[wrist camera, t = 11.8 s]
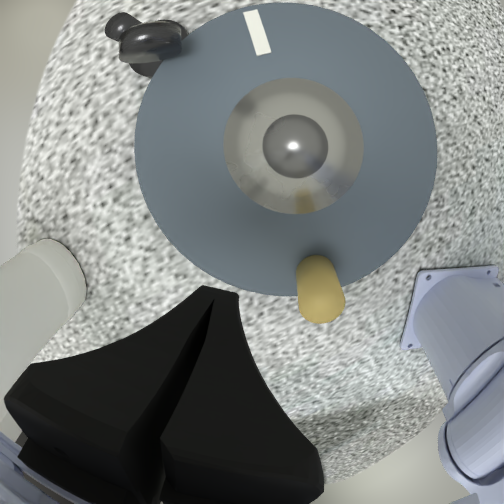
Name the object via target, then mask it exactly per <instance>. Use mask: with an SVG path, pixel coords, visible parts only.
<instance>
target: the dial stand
mask: <svg viewBox="0 0 504 504" xmlns="http://www.w3.org/2000/svg"><path fill="white" fill-rule="evenodd" d="M105 34H106V36H107V37H109V38H111V39H113V40H116V41H118V42H119V59H120V60H121V61H122V62H125V63H129V64H130V66H131V68H132V69H133V70H134V71H135V72H136V73H138V74H140V75H143V76H146V77H150V78H152V77H153V75H154V74H155V72H156V71H157V69H158V68H159V66H160V65H161V63H162V62H163V60H164V59H168V58H171V57H173V56H176V55H177V54H179V53H180V52H181V51H182V43H181V41H182V40H183V39H185V38H186V37H187V36H188V35H189V34H188V32H187V31H186V30H185V29H184V28H183V27H182V26H181V25H180V24H179V23H177V22H175V21H172V20H158V21H153V22H146V23H142V22H140V21H139V20H137V19H136V18H134V17H132V16H131V15H129V14H128V13H125V12H122V13H118V14H116V15H114V16H113V17H112V18H111V19H110V20H109V21H108V23H107V24H106V27H105Z"/></svg>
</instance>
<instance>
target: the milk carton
mask: <svg viewBox="0 0 504 504" xmlns="http://www.w3.org/2000/svg"><path fill="white" fill-rule="evenodd" d="M12 386H13V385H12ZM12 386H11V387H12ZM10 389H11V388H10ZM10 389H9V390H10ZM9 390H8V391H9ZM7 393H8V392H7ZM7 393H6V394H7ZM6 394H5V395H6ZM4 397H5V396H4ZM4 397H3V398H2V400H1V401H0V431H1V432H2V433H3V434H4V435H6V436H7V437H8V438H10V439H11V440H12V441H14V442H15V441H16V440H17V438H18V437H19V435H20V433H21V432H22V430H21V428H20V427H19V426H18V424H17V423H16V422H15V420H14V419H13V418H12V416H11V415H10V413H9V412H8V410H7V409H6V406H5V403H4Z"/></svg>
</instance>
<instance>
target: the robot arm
mask: <svg viewBox="0 0 504 504" xmlns="http://www.w3.org/2000/svg"><path fill="white" fill-rule="evenodd" d="M487 271H488V272H487ZM498 271H499V268H498V267H497V266H496V265H492V266H480V267H467V268H453V269H437V270H423V271H420V272H419V273H418V274H417V278H416V283H415V287H414V292H413V296H412V301H411V305H410V309H409V313H408V317H407V321H406V325H405V328H404V332H403V335H402V339H401V342H400V348H401V349H402V350H408V349H414V348H421V347H422V348H423V350H424V352H425V354H426V356H427V358H428V359H429V361H430V363H431V365H432V367H433V370H434V372H435V374H436V376H437V378H438V380H439V382H440V384H441V386H442V388H443V391H444V393H445V395H446V397H447V400H448V403H447V405H446V406H445V407H444V408H443V409H442V411H443V413H444V416H445V418H446V422H444V423H443V425H442V426H441V428H440V431H439V435H438V451H439V456H440V460H441V462H442V464H443V466H444V468H445V470H446V471H447V473H448V474H449V475H450V476H451V477H452V478H453V479H454V480H456V481H457V482H459V483H460V484H462V485H463V486H464V487H465V488H466V489H467V491H468V492H469V493H470V494H471V495H469V496H467V497H464V498H462V499H459V500H456V501H454V502H452V503H450V504H504V284H503V283H502V282H501V281H500V280H499V279H498V278H497V275H498ZM428 275H429V277H428V278H426V277H427V276H428ZM409 344H410V345H409ZM4 403H5V406H6V409H7V410H8V412H9V413H10V415H11V416H12V418H13V419H14V420H15V422H16V423H17V424H18V426H19V427H20V428H21V430H22V431H23V432H24V433H25V435H26V436H27V437H28V439H27V441H26V443H25V445H24V446H23V448H22V447H20V446H19V445H17V444H16V443H15V442H14V441H12V440H11V439H10V438H8V437H7V436H6V435H4V434H3V433H2V432H1V431H0V504H60V503H59V502H57V501H56V500H54V499H53V498H51V497H50V496H48V495H47V494H45V493H44V492H43V491H42V490H40V489H39V488H37V487H36V486H35V485H33V484H32V483H30V482H29V481H27V480H26V479H25V478H24V475H23V472H25V473H26V474H28V475H29V476H31V477H32V478H33V479H35V480H36V481H38V482H39V483H41V484H43V485H44V486H46V487H47V488H49V489H50V490H52V491H54V492H55V493H57V494H59V495H60V496H62V497H64V498H66V499H68V500H69V501H71V502H73V503H75V504H160V502H161V501H162V502H163V504H309V503H311V502H312V501H314V500H315V499H317V498H318V497H319V496H320V495H321V494H322V493H323V492H324V475H323V470H322V465H321V461H320V457H319V454H318V450H317V448H316V447H315V446H314V445H313V444H312V443H311V442H310V441H309V440H308V439H307V438H306V437H305V436H304V435H303V434H302V433H301V431H300V430H299V429H298V428H297V427H296V426H295V425H294V423H293V422H292V421H291V420H290V418H289V417H288V416H287V414H286V413H285V412H284V411H283V409H282V408H281V406H280V405H279V403H278V402H277V400H276V399H275V397H274V396H273V394H272V393H271V391H270V390H269V388H268V386H267V385H266V383H265V381H264V379H263V377H262V376H261V374H260V372H259V370H258V368H257V365H256V363H255V361H254V359H253V356H252V354H251V351H250V349H249V346H248V343H247V340H246V337H245V334H244V330H243V326H242V322H241V317H240V311H239V295H238V294H237V293H235V292H230V291H226V290H221V289H217V288H213V287H208V286H204V285H202V286H200V287H199V288H198V289H197V290H195V291H194V292H193V293H192V294H191V295H190V296H188V297H187V298H186V299H185V300H184V301H182V302H181V303H180V304H178V305H177V306H176V307H174V308H173V309H172V310H170V311H169V312H168V313H166V314H165V315H163V316H162V317H160V318H159V319H157V320H156V321H154V322H153V323H151V324H150V325H148V326H146V327H145V328H143V329H141V330H139V331H137V332H136V333H134V334H132V335H130V336H128V337H126V338H124V339H121V340H119V341H116V342H114V343H111V344H109V345H106V346H104V347H101V348H99V349H96V350H93V351H90V352H86V353H83V354H79V355H76V356H72V357H68V358H63V359H58V360H52V361H46V362H40V363H32V364H30V365H29V366H28V367H27V369H26V370H25V371H24V372H23V373H22V374H21V376H20V377H19V378H18V379H17V381H16V382H15V383H14V385H13V386H12V387H11V389H10V390H9V391H8V393H7V394H6V395H5V397H4ZM21 470H22V471H23V472H22V471H21Z"/></svg>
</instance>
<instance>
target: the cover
mask: <svg viewBox="0 0 504 504" xmlns="http://www.w3.org/2000/svg"><path fill="white" fill-rule="evenodd" d="M223 148H224V156H225V161H226V164H227V167H228V170H229V172H230V174H231V176H232V178H233V180H234V181H235V183H236V184H237V186H238V187H239V188H240V189H241V190H242V191H243V193H244V194H246V195H247V196H248V197H249V198H250V199H251V200H253V201H254V202H256V203H257V204H259V205H261V206H263V207H265V208H267V209H270V210H273V211H276V212H280V213H286V214H305V213H311V212H315V211H318V210H321V209H323V208H325V207H328V206H329V205H331V204H333V203H334V202H336V201H337V200H338V199H340V198H341V197H342V196H343V195H344V194H345V193H346V192H347V191H348V190H349V188H350V187H351V186H352V185H353V183H354V181H355V179H356V178H357V176H358V173H359V171H360V168H361V164H362V161H363V153H364V142H363V135H362V131H361V127H360V124H359V122H358V120H357V117H356V116H355V114H354V112H353V111H352V109H351V108H350V106H349V105H348V104H347V103H346V101H345V100H344V99H343V98H341V97H340V96H339V95H338V94H337V93H336V92H334V91H333V90H331V89H330V88H328V87H326V86H324V85H322V84H320V83H317V82H315V81H311V80H307V79H301V78H282V79H276V80H273V81H269V82H266V83H264V84H262V85H259V86H258V87H256V88H254V89H253V90H251V91H250V92H249V93H247V94H246V95H245V96H244V97H243V98H242V99H241V100H240V101H239V102H238V103H237V105H236V106H235V108H234V109H233V111H232V113H231V115H230V117H229V119H228V121H227V124H226V127H225V132H224V141H223Z"/></svg>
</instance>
